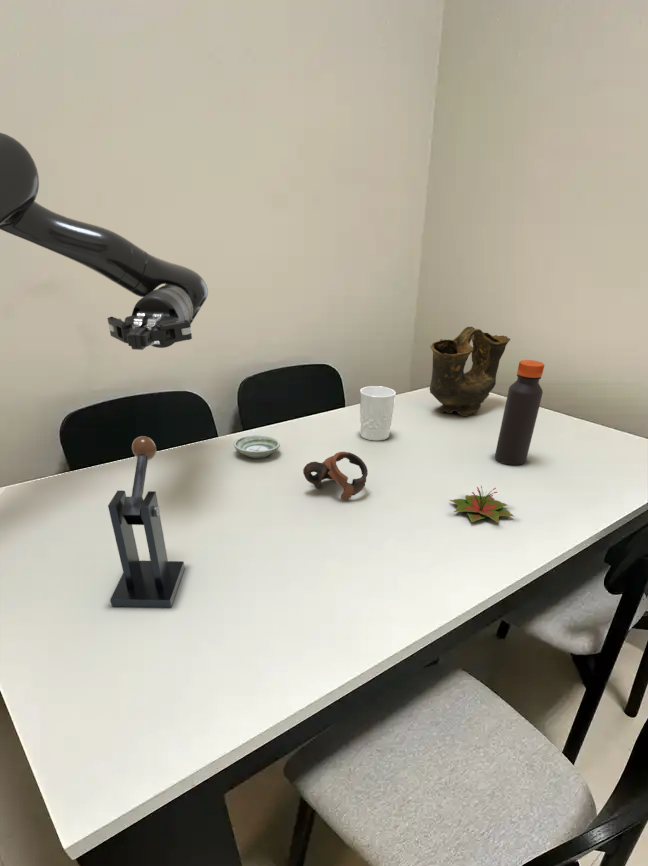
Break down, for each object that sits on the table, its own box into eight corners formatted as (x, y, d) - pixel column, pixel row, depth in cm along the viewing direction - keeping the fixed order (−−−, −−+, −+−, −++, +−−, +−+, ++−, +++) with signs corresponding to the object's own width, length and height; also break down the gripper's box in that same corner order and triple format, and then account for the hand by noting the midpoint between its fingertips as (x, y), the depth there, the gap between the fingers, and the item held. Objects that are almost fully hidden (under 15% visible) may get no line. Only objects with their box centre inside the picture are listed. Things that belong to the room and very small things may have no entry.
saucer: (282, 446, 127) (282, 435, 126) (277, 464, 120) (277, 452, 118) (238, 444, 127) (237, 433, 126) (230, 461, 119) (229, 450, 118)
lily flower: (437, 500, 110) (440, 477, 107) (492, 493, 113) (497, 471, 110) (467, 530, 101) (472, 506, 98) (526, 522, 104) (532, 499, 101)
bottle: (517, 468, 124) (541, 369, 111) (489, 459, 127) (508, 362, 114) (530, 459, 128) (554, 363, 116) (502, 451, 131) (523, 356, 119)
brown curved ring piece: (347, 477, 117) (365, 449, 111) (357, 516, 113) (377, 489, 107) (292, 469, 111) (308, 439, 105) (300, 509, 107) (317, 481, 101)
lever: (137, 446, 82) (130, 430, 79) (160, 446, 82) (154, 431, 79) (124, 526, 77) (117, 513, 74) (149, 526, 77) (142, 513, 74)
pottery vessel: (474, 396, 163) (488, 318, 150) (505, 407, 156) (522, 326, 144) (412, 413, 149) (422, 328, 137) (444, 425, 143) (457, 337, 131)
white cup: (389, 429, 138) (393, 386, 132) (393, 442, 132) (397, 397, 126) (356, 429, 138) (359, 385, 132) (359, 441, 132) (361, 396, 126)
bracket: (130, 567, 87) (111, 480, 79) (184, 568, 88) (171, 482, 79) (111, 606, 79) (88, 515, 71) (171, 607, 80) (155, 517, 71)
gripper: (116, 289, 93) (81, 310, 79) (200, 293, 93) (179, 314, 80) (125, 340, 97) (93, 368, 84) (205, 343, 98) (186, 371, 84)
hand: (135, 341), depth 82 cm, fingers closed
